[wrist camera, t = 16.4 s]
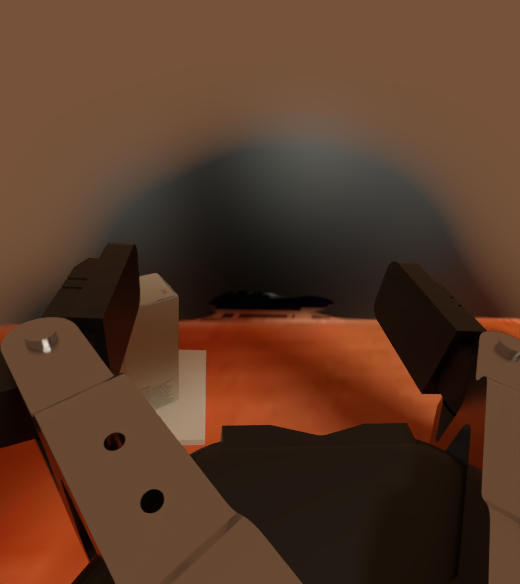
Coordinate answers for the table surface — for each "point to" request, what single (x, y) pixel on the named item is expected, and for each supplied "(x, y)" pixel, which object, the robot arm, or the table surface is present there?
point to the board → (188, 400)
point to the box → (155, 343)
